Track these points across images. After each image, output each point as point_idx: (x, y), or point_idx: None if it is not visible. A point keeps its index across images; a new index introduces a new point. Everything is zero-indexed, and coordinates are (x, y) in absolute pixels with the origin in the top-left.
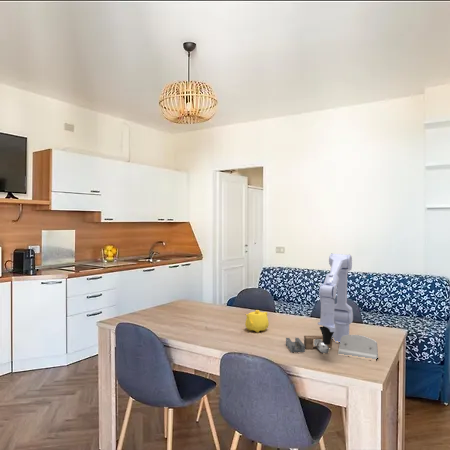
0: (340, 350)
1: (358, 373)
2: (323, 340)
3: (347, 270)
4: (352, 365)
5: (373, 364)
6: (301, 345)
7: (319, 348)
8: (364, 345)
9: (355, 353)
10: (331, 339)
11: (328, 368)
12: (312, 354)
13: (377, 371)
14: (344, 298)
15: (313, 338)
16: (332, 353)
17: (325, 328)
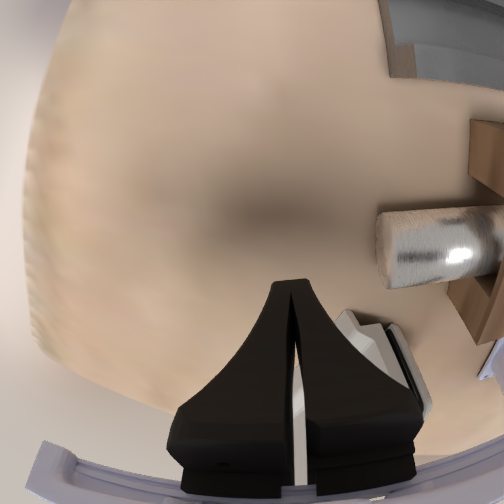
0: (353, 342)
1: (80, 327)
2: (307, 295)
3: None
4: (170, 337)
5: None
6: (420, 44)
7: (409, 215)
8: (305, 448)
9: (301, 391)
10: (473, 336)
11: (77, 207)
12: (356, 133)
13: (136, 388)
14: None
15: None
16: (375, 285)
17: (242, 470)
